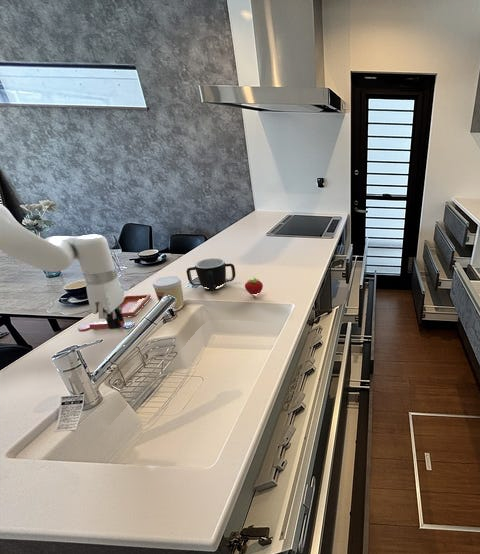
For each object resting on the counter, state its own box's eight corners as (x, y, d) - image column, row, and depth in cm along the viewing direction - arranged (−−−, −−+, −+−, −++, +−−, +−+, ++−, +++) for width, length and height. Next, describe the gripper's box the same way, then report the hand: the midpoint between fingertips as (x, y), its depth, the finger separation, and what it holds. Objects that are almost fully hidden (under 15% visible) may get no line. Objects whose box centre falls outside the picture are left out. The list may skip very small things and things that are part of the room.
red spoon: (125, 323, 102) (124, 318, 101) (120, 329, 99) (118, 324, 98) (82, 326, 99) (81, 321, 99) (75, 332, 96) (73, 327, 95)
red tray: (106, 319, 113) (105, 314, 113) (126, 300, 127) (125, 295, 126) (134, 317, 116) (133, 312, 115) (151, 298, 129) (150, 294, 128)
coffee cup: (157, 306, 123) (150, 279, 118) (183, 300, 129) (177, 274, 124) (162, 316, 117) (154, 288, 112) (189, 308, 123) (183, 282, 118)
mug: (218, 276, 152) (214, 254, 147) (240, 284, 145) (237, 261, 140) (186, 288, 139) (181, 264, 134) (209, 297, 132) (204, 272, 127)
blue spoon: (91, 331, 106) (90, 327, 105) (97, 325, 109) (96, 321, 108) (131, 328, 109) (130, 324, 108) (136, 323, 112) (135, 318, 111)
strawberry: (247, 294, 137) (244, 273, 133) (265, 293, 138) (262, 273, 134) (244, 300, 131) (242, 279, 127) (263, 299, 133) (260, 278, 129)
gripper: (101, 266, 99) (116, 315, 106) (69, 286, 85) (89, 341, 92) (127, 265, 101) (140, 313, 108) (101, 285, 87) (118, 339, 94)
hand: (117, 326), depth 100 cm, fingers closed on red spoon, 1 cm apart
